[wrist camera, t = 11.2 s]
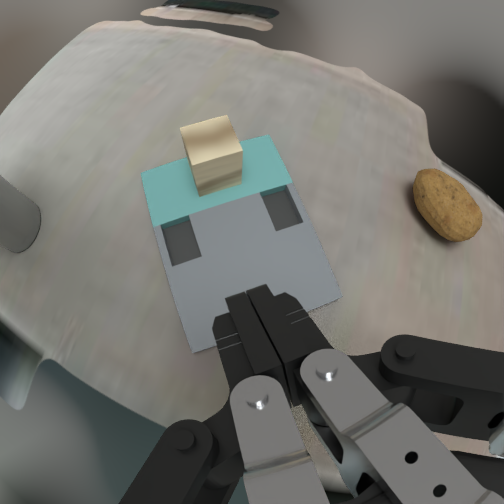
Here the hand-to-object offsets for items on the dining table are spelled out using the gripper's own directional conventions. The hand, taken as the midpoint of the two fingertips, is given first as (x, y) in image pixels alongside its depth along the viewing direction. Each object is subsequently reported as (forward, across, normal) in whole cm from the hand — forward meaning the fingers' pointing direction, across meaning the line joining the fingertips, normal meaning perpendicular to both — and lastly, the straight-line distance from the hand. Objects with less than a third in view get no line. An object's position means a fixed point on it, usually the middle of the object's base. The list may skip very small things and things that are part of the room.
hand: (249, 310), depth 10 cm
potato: (+23, -36, +15) cm, 46 cm away
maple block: (+33, -4, +2) cm, 33 cm away
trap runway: (+28, -4, +10) cm, 30 cm away
